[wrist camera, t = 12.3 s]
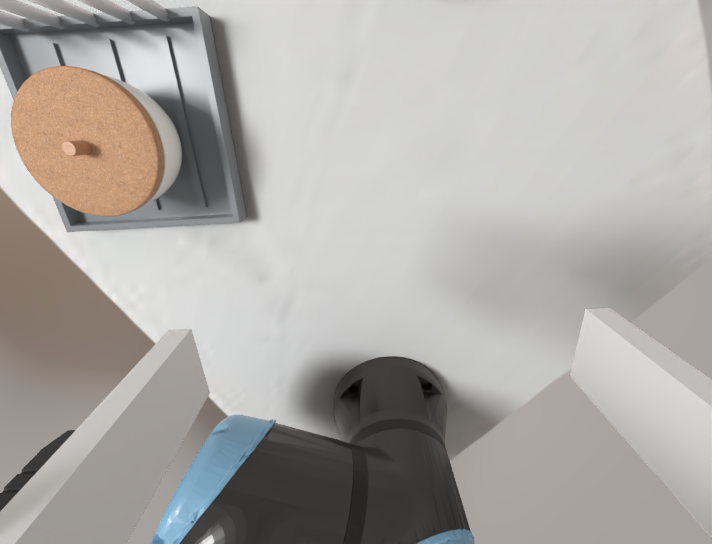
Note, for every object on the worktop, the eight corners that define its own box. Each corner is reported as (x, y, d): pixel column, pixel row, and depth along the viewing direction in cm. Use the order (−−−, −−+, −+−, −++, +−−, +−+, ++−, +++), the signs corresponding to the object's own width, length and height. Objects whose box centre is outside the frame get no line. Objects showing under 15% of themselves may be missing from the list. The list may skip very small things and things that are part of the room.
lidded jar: (202, 206, 35) (152, 231, 26) (95, 190, 34) (8, 211, 26) (199, 90, 31) (138, 75, 22) (77, 70, 30) (-35, 47, 21)
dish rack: (246, 216, 37) (215, 241, 28) (85, 225, 37) (7, 253, 29) (209, 14, 30) (153, -31, 21) (9, 27, 30) (-122, -11, 22)
